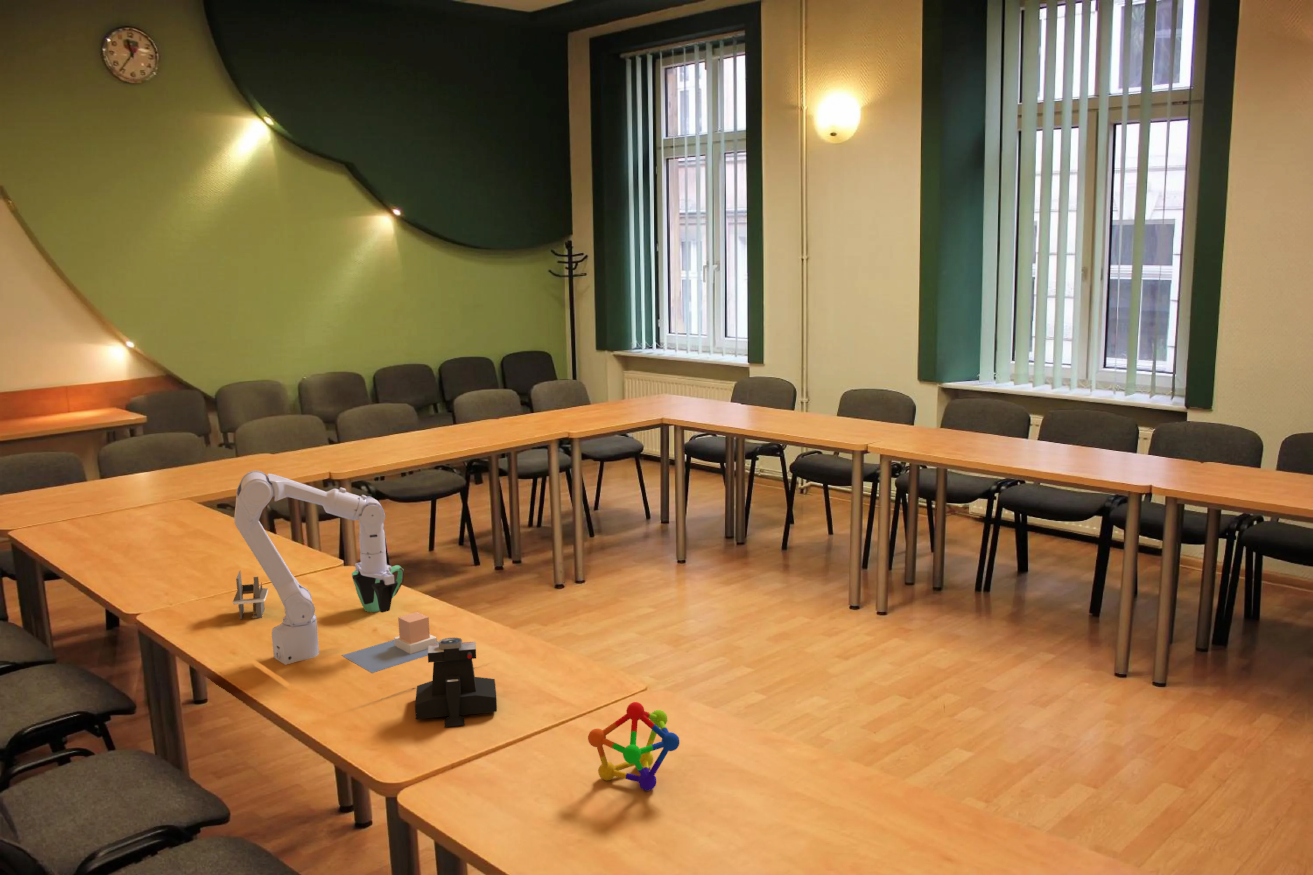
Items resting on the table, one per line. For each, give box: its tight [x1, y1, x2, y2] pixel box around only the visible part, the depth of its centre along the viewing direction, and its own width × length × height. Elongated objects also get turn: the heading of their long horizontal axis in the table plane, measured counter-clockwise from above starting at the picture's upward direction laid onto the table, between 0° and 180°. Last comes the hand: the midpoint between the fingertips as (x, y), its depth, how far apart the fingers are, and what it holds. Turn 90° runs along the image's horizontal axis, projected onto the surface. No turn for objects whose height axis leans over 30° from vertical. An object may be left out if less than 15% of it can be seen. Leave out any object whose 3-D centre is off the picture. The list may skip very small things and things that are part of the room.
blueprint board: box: [341, 634, 439, 674], centre depth 248 cm, size 20×14×3 cm
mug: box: [351, 564, 405, 613], centre depth 280 cm, size 15×10×10 cm
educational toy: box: [587, 701, 680, 792], centre depth 189 cm, size 16×13×15 cm
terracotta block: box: [397, 611, 431, 643], centre depth 250 cm, size 5×5×5 cm
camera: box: [414, 637, 498, 728], centre depth 218 cm, size 16×14×15 cm
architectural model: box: [232, 570, 269, 620], centre depth 276 cm, size 19×17×11 cm
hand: (376, 607), depth 252 cm, fingers open, 7 cm apart
